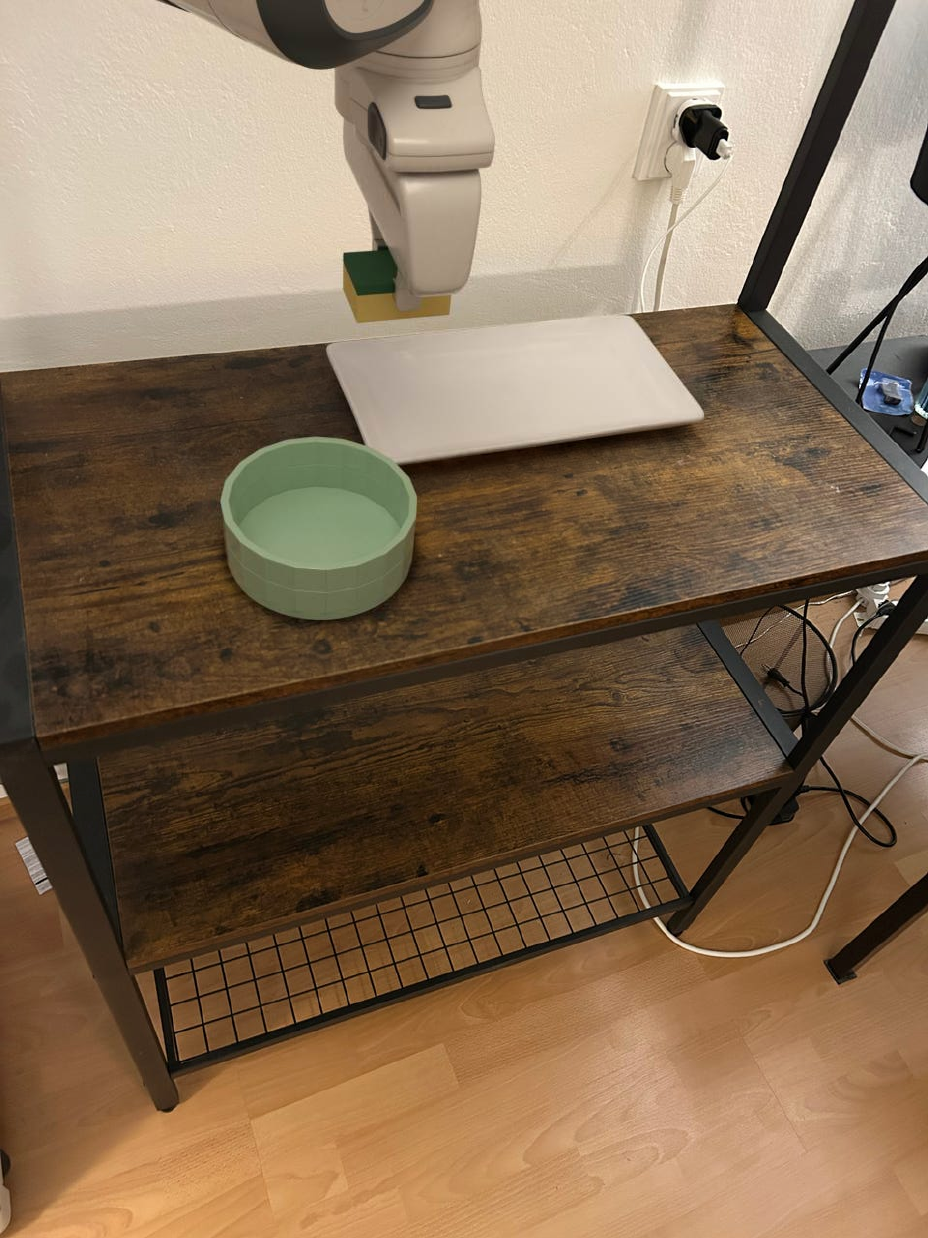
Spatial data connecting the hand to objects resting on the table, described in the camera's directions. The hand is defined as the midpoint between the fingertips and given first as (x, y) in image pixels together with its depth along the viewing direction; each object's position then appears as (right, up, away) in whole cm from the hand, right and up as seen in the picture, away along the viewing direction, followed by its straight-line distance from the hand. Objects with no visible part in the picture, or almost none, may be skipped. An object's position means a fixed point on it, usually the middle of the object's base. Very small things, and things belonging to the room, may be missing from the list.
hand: (395, 283), depth 71 cm
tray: (+9, -5, +20) cm, 22 cm away
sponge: (0, -1, +1) cm, 2 cm away
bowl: (-6, -19, +5) cm, 21 cm away
